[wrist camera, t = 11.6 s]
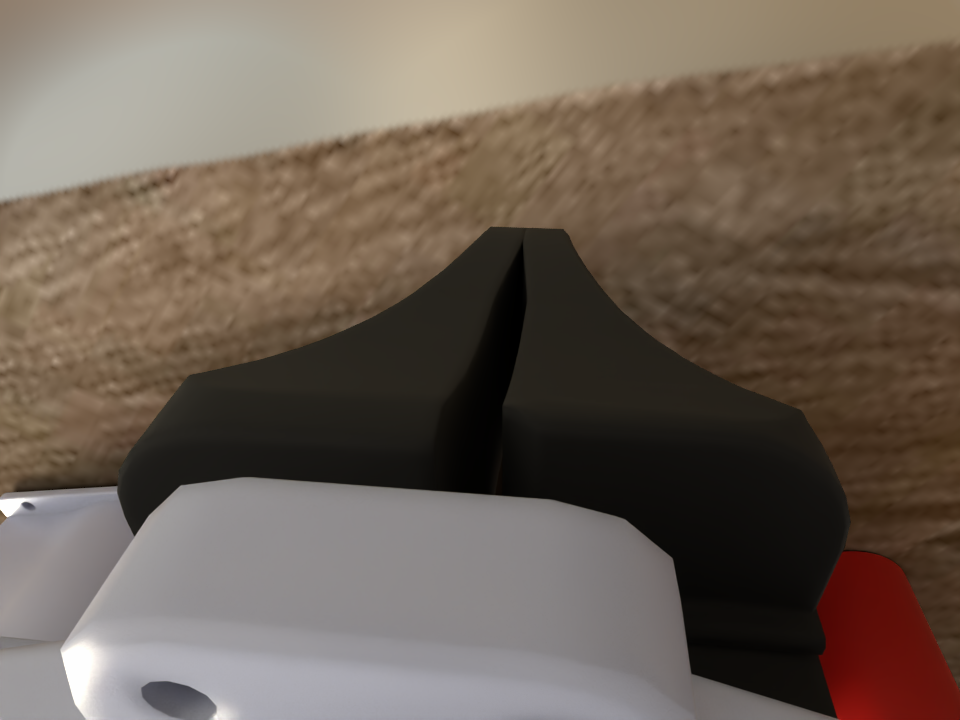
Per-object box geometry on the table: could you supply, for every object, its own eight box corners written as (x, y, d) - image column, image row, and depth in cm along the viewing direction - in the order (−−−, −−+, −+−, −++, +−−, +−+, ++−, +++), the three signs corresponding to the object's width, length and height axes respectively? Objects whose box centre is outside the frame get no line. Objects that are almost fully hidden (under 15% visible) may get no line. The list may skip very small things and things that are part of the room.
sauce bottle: (777, 622, 27) (849, 893, 20) (782, 552, 25) (868, 832, 18) (897, 621, 26) (1018, 904, 19) (915, 547, 24) (1062, 841, 17)
